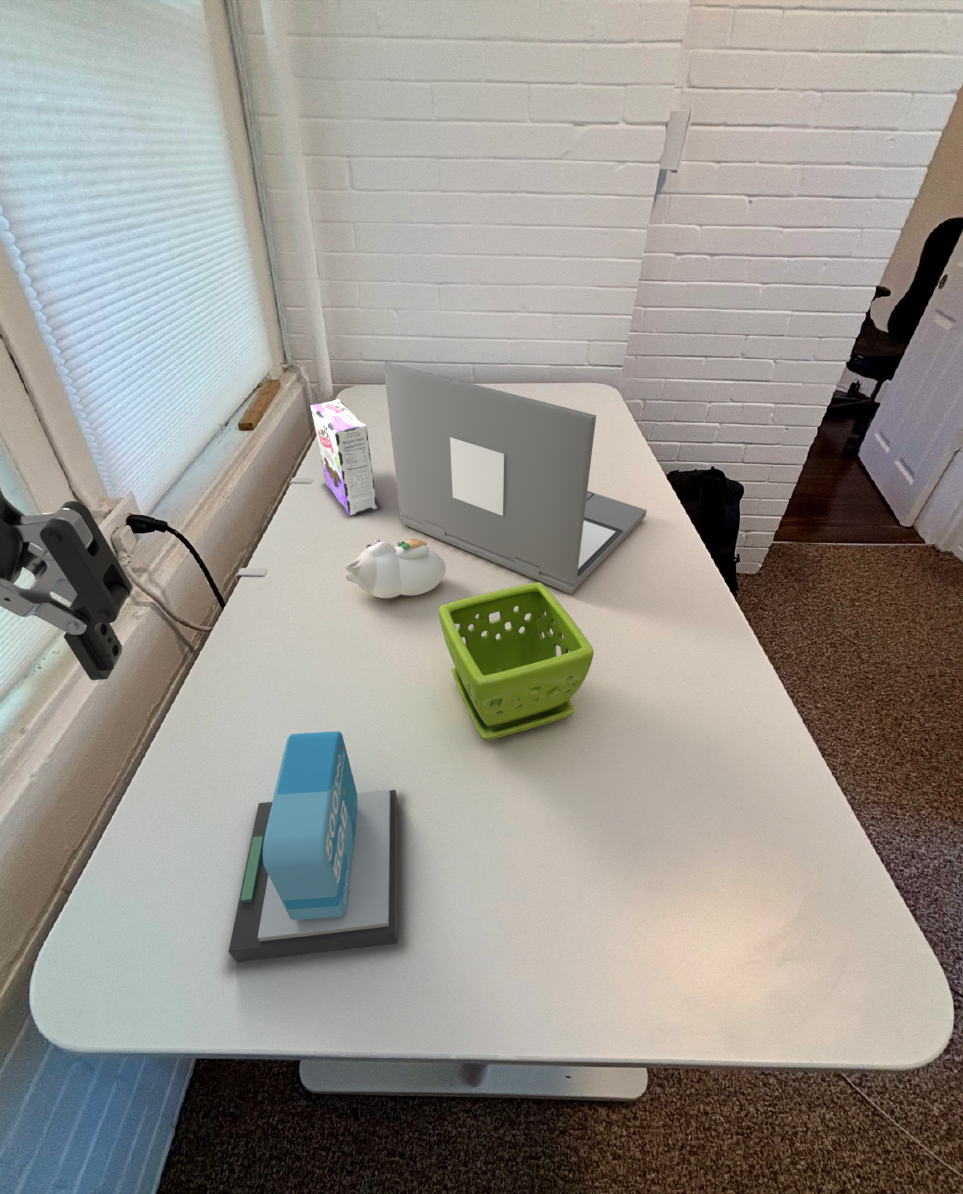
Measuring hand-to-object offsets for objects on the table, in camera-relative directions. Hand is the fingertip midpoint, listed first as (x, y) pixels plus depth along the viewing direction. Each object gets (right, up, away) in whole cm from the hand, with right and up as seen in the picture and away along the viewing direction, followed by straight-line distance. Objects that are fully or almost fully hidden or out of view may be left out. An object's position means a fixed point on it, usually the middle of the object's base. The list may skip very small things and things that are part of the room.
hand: (30, 675), depth 34 cm
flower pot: (+30, -9, +40) cm, 51 cm away
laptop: (+33, +17, +71) cm, 81 cm away
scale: (+11, -22, +23) cm, 34 cm away
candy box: (+1, +24, +80) cm, 83 cm away
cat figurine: (+13, +5, +57) cm, 59 cm away
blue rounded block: (+12, -20, +21) cm, 32 cm away
